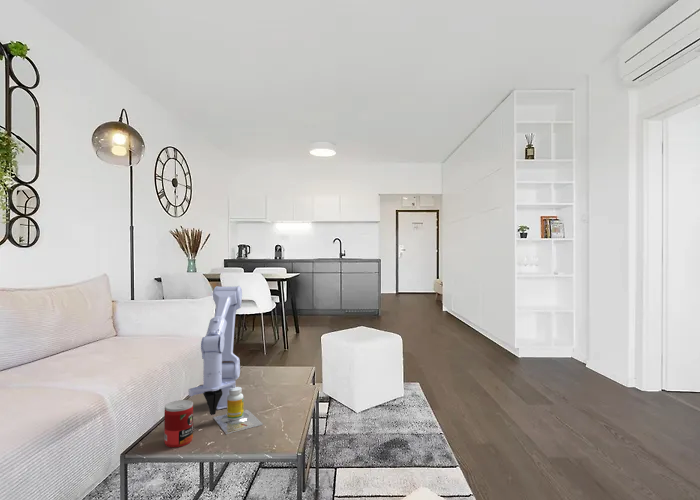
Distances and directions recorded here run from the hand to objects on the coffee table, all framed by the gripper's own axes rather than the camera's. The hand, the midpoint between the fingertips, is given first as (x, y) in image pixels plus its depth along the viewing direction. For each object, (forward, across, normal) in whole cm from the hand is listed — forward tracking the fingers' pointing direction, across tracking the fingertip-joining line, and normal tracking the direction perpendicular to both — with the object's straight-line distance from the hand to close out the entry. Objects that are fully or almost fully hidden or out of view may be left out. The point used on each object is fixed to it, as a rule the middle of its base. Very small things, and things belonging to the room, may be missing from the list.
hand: (212, 413), depth 126 cm
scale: (+3, +8, -2) cm, 9 cm away
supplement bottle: (+3, +8, 0) cm, 8 cm away
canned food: (+4, -12, -7) cm, 14 cm away
